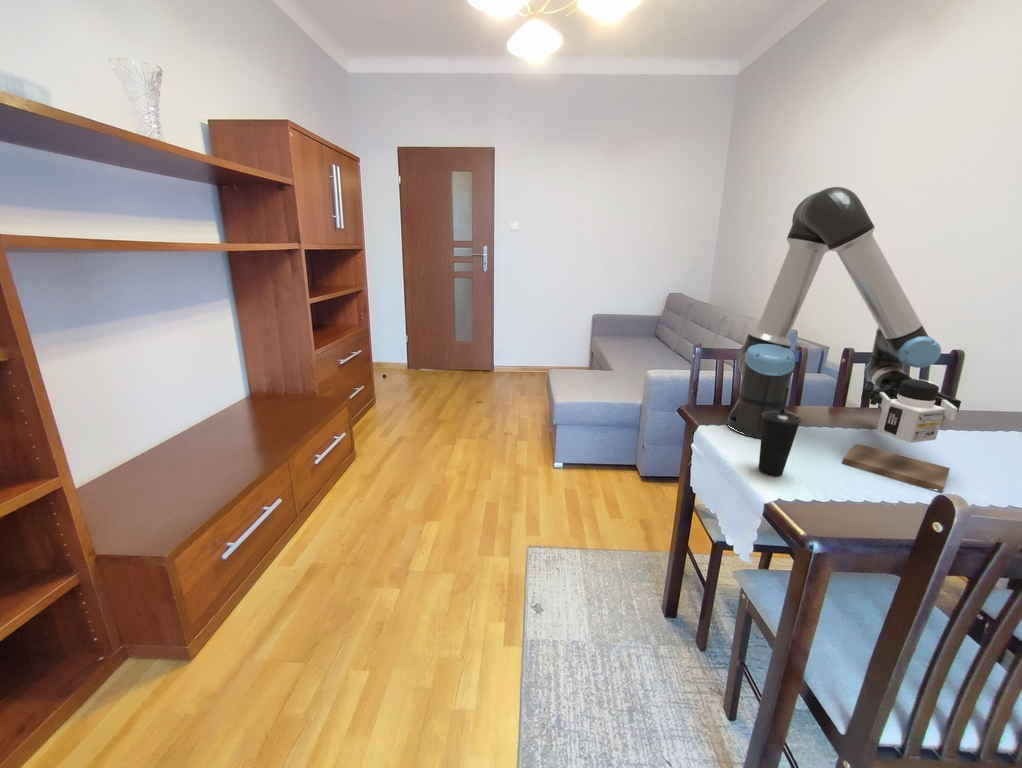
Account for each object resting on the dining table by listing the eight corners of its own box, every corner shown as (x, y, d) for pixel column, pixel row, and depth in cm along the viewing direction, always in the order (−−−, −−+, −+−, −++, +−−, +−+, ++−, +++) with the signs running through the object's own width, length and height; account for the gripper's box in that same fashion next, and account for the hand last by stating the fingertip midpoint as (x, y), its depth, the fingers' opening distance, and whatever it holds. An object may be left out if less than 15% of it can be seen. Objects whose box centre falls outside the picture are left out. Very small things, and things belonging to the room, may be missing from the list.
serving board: (841, 463, 110) (843, 457, 109) (854, 448, 118) (855, 443, 118) (941, 492, 97) (943, 486, 97) (947, 473, 106) (949, 468, 105)
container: (910, 443, 101) (927, 387, 97) (875, 430, 108) (889, 377, 104) (936, 440, 103) (953, 385, 99) (900, 427, 110) (914, 375, 106)
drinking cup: (779, 465, 108) (797, 384, 102) (795, 480, 101) (815, 394, 95) (746, 462, 109) (761, 382, 103) (759, 478, 102) (777, 392, 96)
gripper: (946, 405, 115) (985, 436, 96) (836, 391, 124) (851, 416, 106) (955, 376, 112) (996, 402, 94) (842, 364, 122) (859, 385, 103)
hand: (919, 409), depth 100 cm, fingers closed on container, 10 cm apart
